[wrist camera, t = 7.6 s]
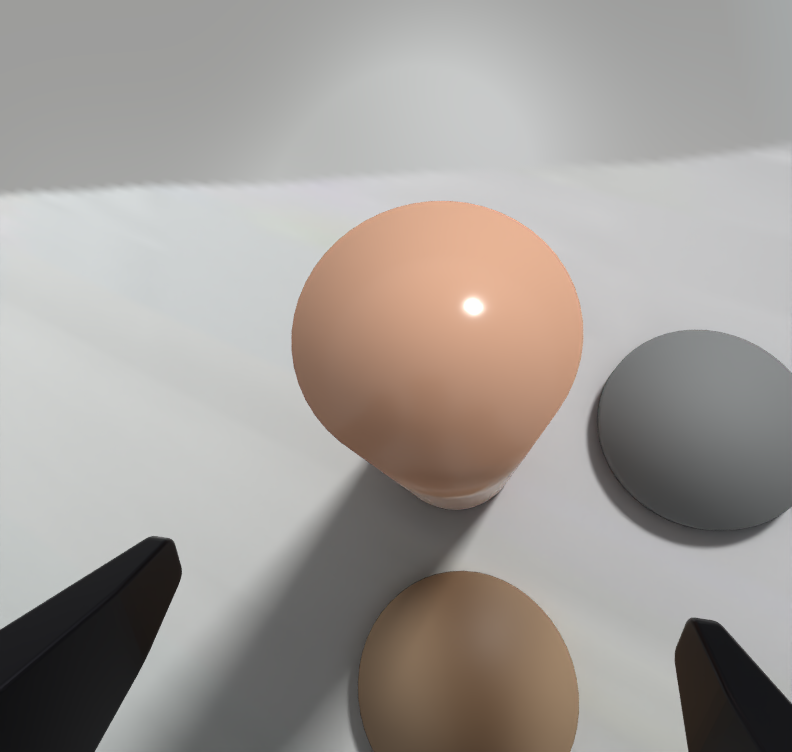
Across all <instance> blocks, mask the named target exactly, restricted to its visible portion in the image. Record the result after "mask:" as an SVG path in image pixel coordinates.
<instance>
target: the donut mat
mask: <svg viewBox="0 0 792 752" xmlns="http://www.w3.org/2000/svg"><path fill="white" fill-rule="evenodd" d="M358 699H359V706H360V714H361V718H362V722H363V725H364V729H365V732H366V735H367V737H368V740H369V743H370V745H371V747H372V749H373V751H374V752H570V751H571V748H572V745H573V742H574V738H575V734H576V730H577V723H578V714H579V693H578V686H577V678H576V674H575V670H574V666H573V662H572V660H571V657H570V654H569V652H568V649H567V646H566V645H565V643H564V641H563V639H562V637H561V635H560V633H559V631H558V630H557V628H556V627H555V625H554V624H553V622H552V621H551V620H550V618H549V617H548V616H547V615H546V614H545V612H544V611H543V610H542V609H541V608H540V607H539V606H538V605H537V604H536V603H535V602H534V601H533V600H532V599H531V598H530V597H528V596H527V595H526V594H525V593H523V592H522V591H520V590H519V589H518V588H516V587H515V586H513V585H511V584H509V583H507V582H505V581H503V580H501V579H498V578H496V577H493V576H490V575H487V574H482V573H478V572H470V571H450V572H445V573H439V574H435V575H432V576H429V577H426V578H424V579H422V580H420V581H418V582H416V583H414V584H412V585H411V586H409V587H408V588H406V589H405V590H404V591H402V592H401V593H400V594H399V595H398V596H397V597H395V598H394V599H393V600H392V601H391V602H390V603H389V604H388V605H387V607H386V608H385V609H384V610H383V611H382V613H381V614H380V616H379V617H378V619H377V620H376V622H375V623H374V625H373V627H372V629H371V631H370V633H369V635H368V637H367V640H366V643H365V646H364V649H363V652H362V657H361V662H360V666H359V677H358Z"/></svg>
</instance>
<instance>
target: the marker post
mask: <svg viewBox="0 0 792 752" xmlns="http://www.w3.org/2000/svg"><path fill="white" fill-rule="evenodd" d="M582 345H583V320H582V314H581V308H580V302H579V299H578V296H577V293H576V290H575V287H574V284H573V282H572V280H571V278H570V276H569V274H568V272H567V270H566V269H565V267H564V266H563V264H562V263H561V261H560V260H559V258H558V257H557V255H556V254H555V253H554V252H553V251H552V249H551V248H550V247H549V246H548V245H547V244H546V243H545V242H544V241H543V240H542V239H541V238H540V237H539V236H537V235H536V234H535V233H534V232H533V231H532V230H530V229H529V228H527V227H526V226H524V225H523V224H521V223H520V222H518V221H517V220H515V219H513V218H511V217H509V216H506V215H504V214H502V213H500V212H498V211H495V210H492V209H489V208H486V207H483V206H478V205H474V204H469V203H463V202H453V201H429V202H421V203H413V204H409V205H405V206H401V207H397V208H394V209H391V210H388V211H386V212H383V213H380V214H378V215H376V216H374V217H372V218H370V219H368V220H366V221H364V222H363V223H361V224H359V225H358V226H356V227H355V228H353V229H352V230H350V231H349V232H348V233H346V234H345V235H344V236H343V237H342V238H340V239H339V240H338V241H337V242H336V243H335V244H334V245H333V246H332V247H331V248H330V249H329V250H328V251H327V252H326V253H325V254H324V255H323V257H322V258H321V259H320V261H319V262H318V263H317V265H316V266H315V267H314V269H313V271H312V272H311V274H310V276H309V277H308V279H307V281H306V283H305V285H304V287H303V290H302V292H301V294H300V297H299V299H298V303H297V307H296V310H295V314H294V320H293V327H292V356H293V364H294V369H295V373H296V376H297V380H298V383H299V386H300V388H301V390H302V393H303V395H304V397H305V400H306V401H307V403H308V405H309V406H310V408H311V410H312V411H313V413H314V414H315V416H316V417H317V418H318V420H319V421H320V422H321V423H322V424H323V426H324V427H325V428H326V429H327V430H328V431H329V432H330V433H331V434H332V435H333V436H334V437H335V438H336V439H338V440H339V441H340V442H341V443H342V444H344V445H345V446H347V447H348V448H349V449H351V450H352V451H354V452H355V453H356V454H358V455H359V456H361V457H362V458H363V459H365V460H366V461H368V462H369V463H370V464H372V465H373V466H375V467H376V468H377V469H379V470H380V471H382V472H383V473H384V474H386V475H387V476H389V477H390V478H391V479H393V480H394V481H396V482H397V483H398V484H400V485H401V486H403V487H404V488H405V489H407V490H408V491H410V492H411V493H412V494H414V495H415V496H417V497H418V498H419V499H421V500H422V501H424V502H426V503H428V504H430V505H433V506H435V507H438V508H443V509H450V510H462V509H468V508H472V507H475V506H478V505H481V504H483V503H484V502H486V501H488V500H489V499H491V498H492V497H494V496H495V495H496V494H497V493H498V492H499V491H500V490H501V489H502V488H503V487H504V485H505V484H506V483H507V481H508V480H509V479H510V477H511V476H512V474H513V473H514V472H515V470H516V469H517V467H518V466H519V465H520V463H521V462H522V460H523V459H524V458H525V456H526V455H527V453H528V452H529V451H530V449H531V448H532V446H533V445H534V444H535V442H536V441H537V439H538V438H539V437H540V435H541V434H542V432H543V431H544V430H545V428H546V427H547V425H548V424H549V423H550V421H551V420H552V418H553V417H554V416H555V414H556V413H557V411H558V410H559V408H560V407H561V405H562V403H563V402H564V400H565V399H566V397H567V395H568V393H569V391H570V389H571V387H572V384H573V382H574V380H575V377H576V374H577V371H578V367H579V363H580V360H581V353H582Z"/></svg>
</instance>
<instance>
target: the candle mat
mask: <svg viewBox="0 0 792 752" xmlns="http://www.w3.org/2000/svg"><path fill="white" fill-rule="evenodd" d="M597 420H598V433H599V439H600V443H601V447H602V450H603V453H604V456H605V458H606V460H607V462H608V465H609V466H610V468H611V470H612V471H613V473H614V475H615V476H616V478H617V479H618V480H619V482H620V483H621V484H622V485H623V487H624V488H625V489H626V490H627V491H628V492H629V493H630V494H631V495H632V496H633V497H634V498H635V499H636V500H638V501H639V502H640V503H641V504H643V505H644V506H645V507H646V508H648V509H650V510H651V511H653V512H654V513H656V514H658V515H659V516H662V517H664V518H666V519H668V520H670V521H672V522H675V523H678V524H681V525H684V526H688V527H693V528H698V529H705V530H737V529H743V528H749V527H753V526H757V525H760V524H763V523H766V522H768V521H770V520H772V519H774V518H776V517H778V516H779V515H781V514H782V513H784V512H785V511H786V510H788V509H789V508H791V507H792V373H791V372H790V371H789V370H788V369H787V368H786V367H785V366H784V365H783V364H782V363H781V362H780V361H779V360H777V359H776V358H775V357H774V356H772V355H771V354H770V353H768V352H767V351H765V350H763V349H762V348H760V347H759V346H757V345H755V344H753V343H751V342H749V341H747V340H744V339H741V338H739V337H736V336H733V335H729V334H725V333H722V332H716V331H709V330H684V331H677V332H672V333H667V334H664V335H661V336H658V337H655V338H653V339H651V340H649V341H647V342H645V343H643V344H642V345H640V346H639V347H637V348H636V349H634V350H633V351H632V352H631V353H630V354H628V355H627V356H626V357H625V358H624V359H623V360H622V361H621V363H620V364H619V365H618V366H617V367H616V369H615V370H614V371H613V372H612V374H611V375H610V377H609V379H608V380H607V382H606V384H605V387H604V389H603V391H602V394H601V398H600V402H599V407H598V415H597Z"/></svg>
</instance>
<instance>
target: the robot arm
mask: <svg viewBox="0 0 792 752" xmlns="http://www.w3.org/2000/svg"><path fill="white" fill-rule="evenodd" d="M181 575H182V568H181V564H180V560H179V557H178V553H177V550H176V546H175V543H174V541H173V540H172V539H170V538H164V537H158V536H151V537H148V538H146V539H145V540H143V541H141V542H140V543H138V544H137V545H135V546H133V547H132V548H130V549H129V550H127V551H125V552H124V553H122V554H121V555H119V556H117V557H116V558H114V559H113V560H111V561H109V562H108V563H106V564H105V565H103V566H101V567H100V568H98V569H97V570H95V571H93V572H92V573H90V574H89V575H87V576H85V577H84V578H82V579H81V580H79V581H77V582H76V583H74V584H73V585H71V586H69V587H68V588H66V589H65V590H63V591H61V592H60V593H58V594H57V595H55V596H53V597H52V598H50V599H49V600H47V601H45V602H44V603H42V604H41V605H39V606H37V607H36V608H34V609H33V610H31V611H29V612H28V613H26V614H25V615H23V616H21V617H20V618H18V619H17V620H15V621H13V622H12V623H10V624H9V625H7V626H5V627H4V628H2V629H1V630H0V752H95V750H96V748H97V747H98V745H99V743H100V741H101V739H102V738H103V736H104V734H105V732H106V730H107V729H108V727H109V725H110V723H111V721H112V720H113V718H114V716H115V714H116V712H117V711H118V709H119V707H120V705H121V703H122V702H123V700H124V698H125V696H126V695H127V693H128V691H129V689H130V687H131V686H132V684H133V682H134V680H135V678H136V677H137V675H138V673H139V671H140V669H141V667H142V665H143V663H144V661H145V659H146V657H147V655H148V653H149V651H150V649H151V647H152V644H153V642H154V640H155V637H156V635H157V633H158V631H159V628H160V626H161V624H162V621H163V619H164V617H165V615H166V612H167V610H168V608H169V605H170V603H171V601H172V599H173V596H174V594H175V592H176V589H177V587H178V585H179V582H180V579H181ZM675 667H676V673H677V680H678V686H679V693H680V699H681V706H682V712H683V719H684V726H685V732H686V739H687V745H688V751H689V752H792V703H791V702H790V701H789V700H788V699H787V698H786V697H785V696H784V694H783V693H782V692H781V691H780V690H779V689H778V688H777V687H776V685H775V684H774V683H773V682H772V681H771V680H770V679H769V678H768V676H767V675H766V674H765V673H764V672H763V671H762V670H761V669H760V668H759V666H758V665H757V664H756V663H755V662H754V661H753V660H752V659H751V657H750V656H749V655H748V654H747V653H746V652H745V651H744V650H743V648H742V647H741V646H740V645H739V644H738V643H737V642H736V641H735V639H734V638H733V637H732V636H731V635H730V634H729V633H728V632H727V631H726V629H725V628H724V627H723V626H722V625H721V624H719V623H718V622H716V621H713V620H707V619H700V618H690V619H689V620H688V621H687V622H686V624H685V627H684V629H683V632H682V634H681V637H680V639H679V642H678V644H677V646H676V650H675Z"/></svg>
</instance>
